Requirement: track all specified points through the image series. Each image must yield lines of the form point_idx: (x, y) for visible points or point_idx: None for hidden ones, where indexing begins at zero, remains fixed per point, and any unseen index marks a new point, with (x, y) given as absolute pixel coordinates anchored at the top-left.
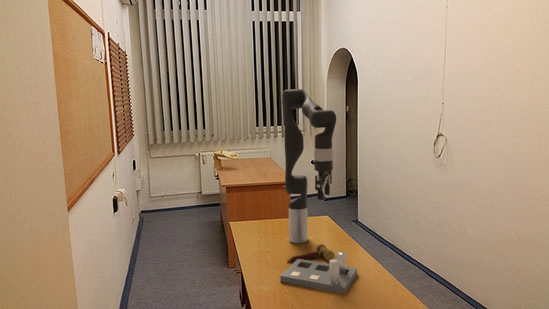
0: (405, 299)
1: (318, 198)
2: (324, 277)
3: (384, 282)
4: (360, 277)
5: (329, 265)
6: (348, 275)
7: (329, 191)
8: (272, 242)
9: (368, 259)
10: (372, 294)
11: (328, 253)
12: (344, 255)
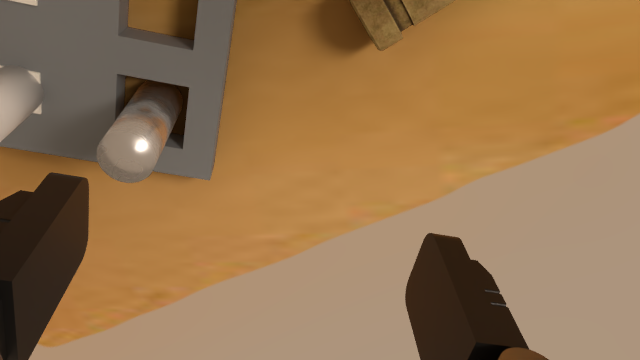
0: (56, 322)
1: (18, 199)
2: (38, 33)
3: (168, 265)
4: (185, 180)
5: (207, 41)
6: None
7: (424, 340)
8: None
9: (397, 203)
10: None
11: (360, 20)
12: (110, 173)
